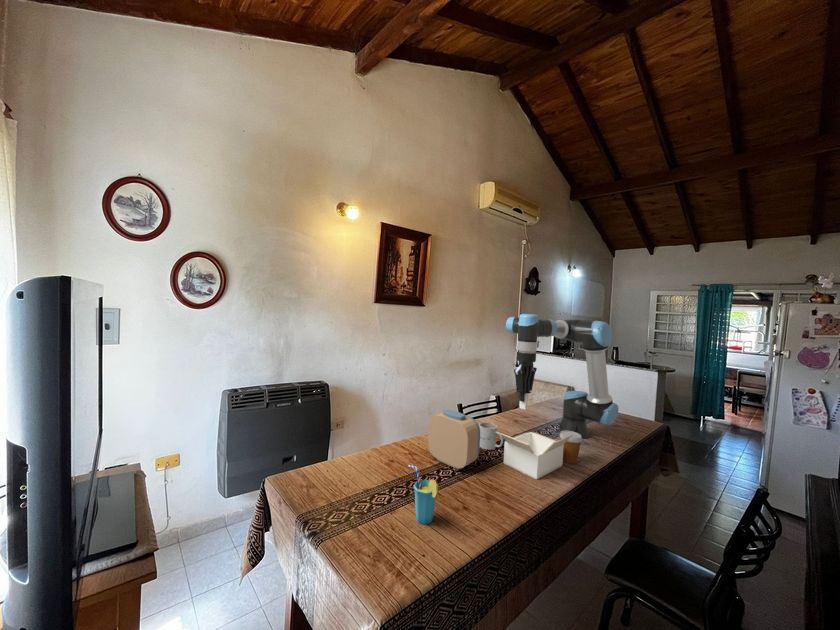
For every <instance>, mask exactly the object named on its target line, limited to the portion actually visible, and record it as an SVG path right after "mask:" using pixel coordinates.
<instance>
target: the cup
mask: <svg viewBox="0 0 840 630" xmlns="http://www.w3.org/2000/svg"><path fill="white" fill-rule="evenodd" d="M407 467H408V468H409V469H413V470H415V473H416V477H417V481H416V482H415V483H414V485H413V490H414V502H415V503H414V504H415V507H414V508H415V520H416V521H417V523H418V524H422V525H429V524H431V523H432V521H433V519H434V514H435V508H436V507H435V505H436V500H437V499H436V498H438V495H439V485H438V483H437V482H436V480H435V479H422V480H421V476H420V471H419V469H418V467H417V466H416V465H411V464H408V465H407Z"/></svg>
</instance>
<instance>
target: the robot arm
mask: <svg viewBox="0 0 840 630" xmlns="http://www.w3.org/2000/svg"><path fill="white" fill-rule="evenodd" d="M505 322H506V323H505V329H506V330H507V332H508V333H512V334H516V335H517V334H518V336H517V352H516V361H518V365H517V368H515V369H513V373H514V379H515V387H516V388H515V389H516V392H517V393H519V409H521V410H525V411H526V410H528V401H529V394H531V393H532V390H533V386H534V382H535V376H536V375H535V374H536V372H537V367H534V363H536V361H537V349H538V348H537V347H538V338H544V337H545V338H549V337H554V338H556V339H559V340H560V339H562V340H566V341H568V342H569V341H570V342H573V343H579V344H581V349H582V350H583V351H584V352H585V360H586V370H587V372H586V373H587V382H588V390H589V392H586V391H584V390H582V391H581V390H568V391H565V392H564V393H563V394H564V395H563V404H562V405H563V407H562V418H561V421H560V423H559V425H558V433H559V434H560V433H561V431H573V432H576V433H579V434H580V435H581V436H582V440H583V439H587V438H589V435H590V434H589V433H590V432H589V428H588V424H587V420H589V421H593V422H595V423H598V424H600V425H604V426H610V425H612V424H614V423H615V421H616V420H617V417H618V415H619V409H620V408H619V405H618V404H617V403H615V402H613V401H614V400H613V397H612V395H611V394H609V383H608V370H607V358H606V351H607V350H608V349H609V346H610V345H611V344H612V342H613V339H614V338H613V337H614V333H613V329H612V327H611V326H610V324H609V323H607V322H605V321H599V320H588V319H587V320H586V319H557V320H553V319H549V318H539V315H538V314H533V313H531V314H530V313H521V314H519V316H510V317H508V318H507V320H506V321H505Z"/></svg>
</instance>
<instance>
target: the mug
mask: <svg viewBox="0 0 840 630" xmlns="http://www.w3.org/2000/svg"><path fill="white" fill-rule="evenodd" d="M478 425H479V427H480V447H481V448H480V449H483V450H487V449H488V450H489V451H491V449H492V450H495V449H496V448H501V447H502V445H504V438H503V436H502V435H501V433H502V432H501V431H498V425H497V424H495V423H493V422H486V421H484V422H480V423H478ZM497 435H499V437H500V444H497Z"/></svg>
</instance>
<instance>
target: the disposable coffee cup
mask: <svg viewBox="0 0 840 630" xmlns="http://www.w3.org/2000/svg"><path fill="white" fill-rule="evenodd" d="M558 435H559V438H560V439H563V438H565V437H567V436H570V435H573V436H572V437H570V438H569V439H568V440H567V441H566V442H565V443H564V448H563V462H564V463H566V464H567V463H568V464H573V465H574V464H577V463H578V458H579V454H580V448H581V445H582V442H583V439H582V436H581V435H580V434H579V433H576V432H573V431H561V433H560V432H559V434H558ZM560 439H559V440H560Z"/></svg>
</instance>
